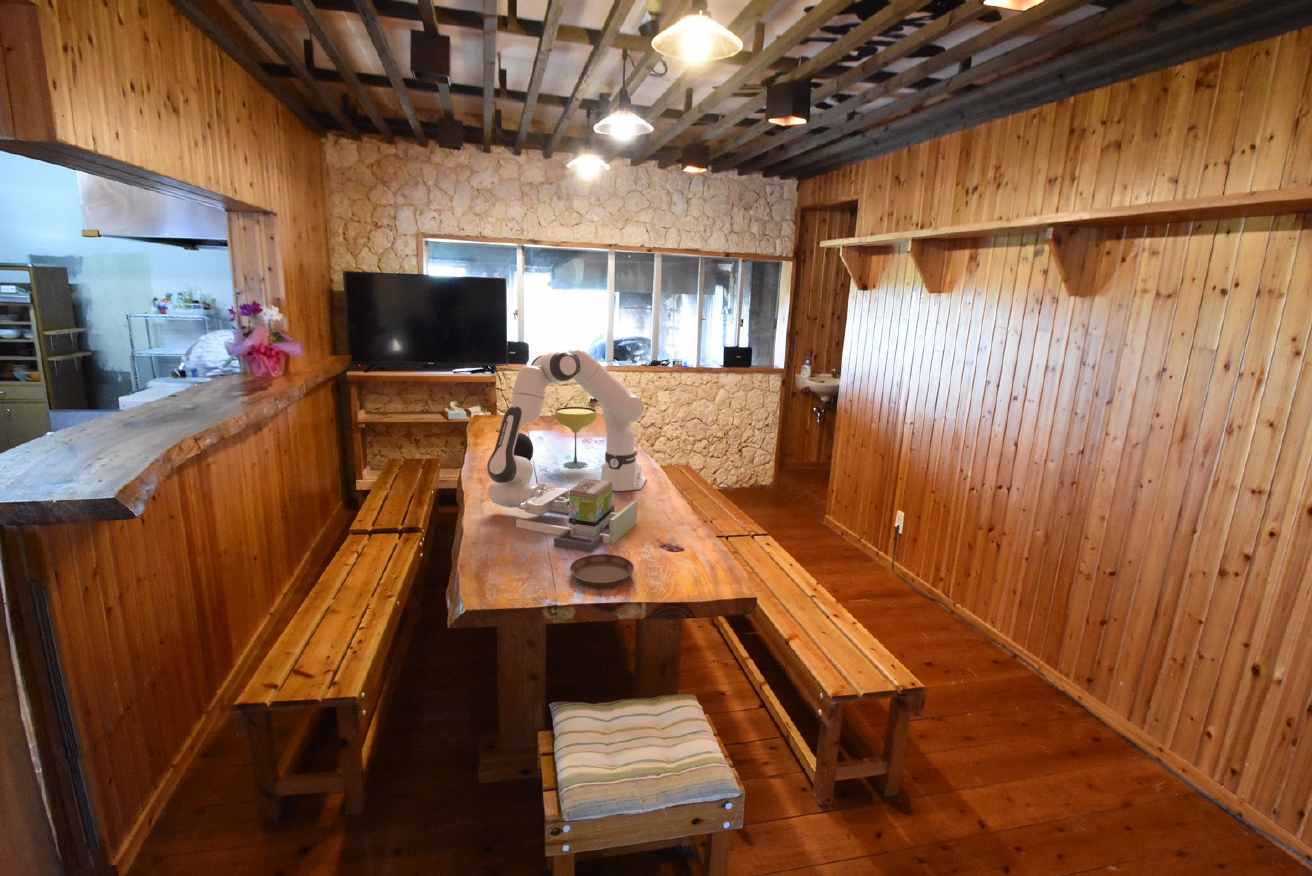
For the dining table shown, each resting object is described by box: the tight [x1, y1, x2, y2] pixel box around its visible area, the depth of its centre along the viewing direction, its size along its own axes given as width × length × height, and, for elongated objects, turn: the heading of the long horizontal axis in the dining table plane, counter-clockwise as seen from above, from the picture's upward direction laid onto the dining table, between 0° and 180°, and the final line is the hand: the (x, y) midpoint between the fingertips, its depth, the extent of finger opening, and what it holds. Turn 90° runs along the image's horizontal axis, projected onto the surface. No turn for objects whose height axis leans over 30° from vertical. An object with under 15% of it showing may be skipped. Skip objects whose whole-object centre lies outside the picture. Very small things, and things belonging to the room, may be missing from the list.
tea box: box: [567, 478, 613, 537], centre depth 211 cm, size 15×10×15 cm
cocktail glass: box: [554, 406, 597, 469], centre depth 283 cm, size 18×18×25 cm
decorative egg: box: [514, 432, 534, 462], centre depth 279 cm, size 12×12×15 cm
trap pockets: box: [553, 504, 616, 553], centre depth 212 cm, size 36×20×2 cm, turn 160°
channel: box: [515, 500, 638, 545], centre depth 213 cm, size 20×35×8 cm, turn 70°
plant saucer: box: [569, 553, 635, 589], centre depth 176 cm, size 18×18×3 cm
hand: (568, 503), depth 213 cm, fingers closed
